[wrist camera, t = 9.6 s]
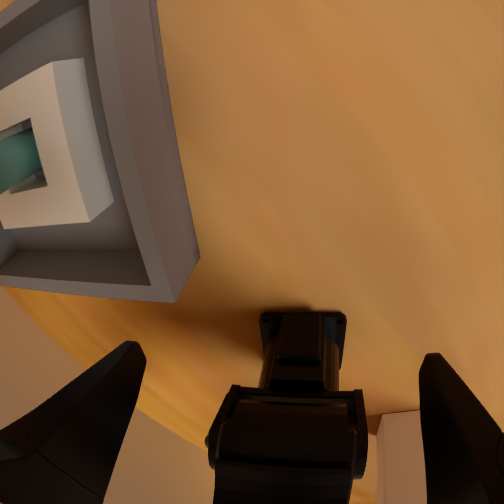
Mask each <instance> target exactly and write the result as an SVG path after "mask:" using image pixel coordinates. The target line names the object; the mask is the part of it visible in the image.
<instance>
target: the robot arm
mask: <svg viewBox="0 0 504 504" xmlns="http://www.w3.org/2000/svg"><path fill="white" fill-rule="evenodd" d="M264 318H267V319H264ZM340 319H341V321H339V320H340ZM259 322H260V329H261V337H262V344H263V352H264V361H263V366H262V371H261V376H260V381H259V386H258V388H253V387H241V386H240V385H232V386H231V388H230V390H229V392H228V393H227V394H226V396H225V398H224V401H223V403H222V405H221V407H220V409H219V411H218V413H217V415H216V417H215V419H214V421H213V424H212V426H211V428H210V430H209V434H208V435H207V436H206V438H205V445H206V446H207V448H208V460H209V465H210V467H211V468H212V469H214V470H215V490H214V498H213V504H349V500H350V494H351V488H352V482H353V479H361V478H362V477H363V475H364V471H365V467H366V461H367V451H368V430H367V421H366V414H365V406H364V399H363V392H362V389H354V391H339V370H340V368H341V363H342V356H343V348H344V340H345V332H346V323H347V320H346V316H345V315H344V314H342V313H280V312H263V313H262V314H261V315H260V319H259ZM145 367H146V357H145V355H144V353H143V351H142V349H141V346H140V344H139V343H138V342H136V341H125V342H123V343H122V344H121V345H119V346H118V347H117V348H115V349H114V350H113V351H111V352H110V353H109V354H107V355H106V356H105V357H103V358H102V359H101V360H99V361H98V362H97V363H95V364H94V365H93V366H91V367H90V368H89V369H87V370H86V371H85V372H84V373H82V374H81V375H79V376H78V377H77V378H75V379H74V380H73V381H71V382H70V383H69V384H67V385H66V386H65V387H63V388H62V389H61V390H60V391H58V392H57V393H56V394H54V395H53V396H52V397H51V398H49V399H47V400H46V401H45V402H44V403H42V404H41V405H39V406H38V407H36V408H35V409H34V410H32V411H31V412H29V413H28V414H26V415H24V416H23V417H21V418H20V419H18V420H16V421H15V422H13V423H11V424H10V425H8V426H6V427H5V428H3V429H1V430H0V504H103V501H104V497H105V494H106V491H107V487H108V485H109V481H110V478H111V475H112V472H113V469H114V466H115V463H116V460H117V457H118V454H119V451H120V448H121V445H122V442H123V439H124V436H125V433H126V430H127V428H128V425H129V422H130V419H131V417H132V414H133V411H134V408H135V405H136V402H137V399H138V395H139V391H140V387H141V383H142V379H143V375H144V371H145ZM419 394H420V423H421V432H422V441H423V451H424V462H425V475H426V492H427V504H504V433H503V432H502V430H501V429H500V427H499V426H498V425H497V423H496V422H495V421H494V419H493V418H492V417H491V415H490V414H489V413H488V412H487V410H486V409H485V408H484V406H483V405H482V404H481V403H480V401H479V400H478V399H477V398H476V396H475V395H474V394H473V393H472V391H471V390H470V389H469V388H468V386H467V385H466V384H465V383H464V381H463V380H462V379H461V378H460V377H459V375H458V374H457V373H456V372H455V370H454V369H453V368H452V367H451V366H450V364H449V363H448V362H447V361H446V360H445V359H444V357H443V356H442V355H441V354H440V353H428V354H426V356H425V358H424V360H423V363H422V365H421V368H420V371H419Z"/></svg>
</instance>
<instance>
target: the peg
mask: <svg viewBox="0 0 504 504" xmlns="http://www.w3.org/2000/svg"><path fill="white" fill-rule="evenodd" d="M42 169H43V168H42V164H41V160H40V157H39V153H38V149H37V145H36V141H35V137H34V133H33V128H32V127H30V128H28V129H25V130H23V131H20V132H18V133H16V134H13V135H11V136H9V137H6V138H4V139H2V140H0V195H1V194H2V193H4V192H5V191H7V190H9V189H10V188H12V187H13V186H15V185H17V184H18V183H20V182H22V181H23V180H25V179H27V178H28V177H30V176H32V175H33V174H35V173H37V172H39V171H40V170H42Z"/></svg>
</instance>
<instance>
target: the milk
mask: <svg viewBox="0 0 504 504" xmlns="http://www.w3.org/2000/svg"><path fill="white" fill-rule="evenodd" d="M376 450H377V451H376V452H377V492H376V504H427V492H426V475H425V462H424V451H423V441H422V432H421V423H420V410H416V411H408V412H400V413H390V414H383V415H382V418H381V421H380V425H379V428H378V432H377V435H376Z"/></svg>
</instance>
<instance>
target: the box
mask: <svg viewBox="0 0 504 504" xmlns="http://www.w3.org/2000/svg"><path fill="white" fill-rule="evenodd" d="M30 127H32V128H33V133H34V137H35V141H36V145H37V149H38V153H39V157H40V160H41V164H42V168H43V169H42V170H40V171H39V172H37V173H35V174H33V175H32V176H30V177H28V178H27V179H25V180H23V181H22V182H20V183H18V184H17V185H15V186H13V187H12V188H10V189H9V190H7V191H5V192H4V193H2V194H1V195H0V285H1V286H8V287H16V288H23V289H31V290H39V291H47V292H55V293H64V294H73V295H82V296H92V297H103V298H114V299H125V300H137V301H150V302H164V303H176V301H177V299H178V297H179V295H180V293H181V291H182V290H183V288H184V286H185V284H186V282H187V280H188V279H189V277H190V275H191V273H192V271H193V269H194V268H195V266H196V264H197V262H198V260H199V259H200V253H199V248H198V244H197V239H196V234H195V230H194V225H193V220H192V216H191V211H190V206H189V201H188V196H187V191H186V186H185V181H184V176H183V171H182V165H181V160H180V155H179V149H178V144H177V138H176V133H175V127H174V121H173V115H172V109H171V103H170V97H169V91H168V84H167V78H166V71H165V64H164V57H163V50H162V43H161V36H160V28H159V20H158V12H157V3H156V0H15V1H14V2H12V3H11V4H10V5H9V6H7V7H6V8H5V9H3V10H2V11H1V12H0V140H2V139H4V138H6V137H9V136H11V135H13V134H16V133H18V132H20V131H23V130H25V129H28V128H30Z"/></svg>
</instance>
